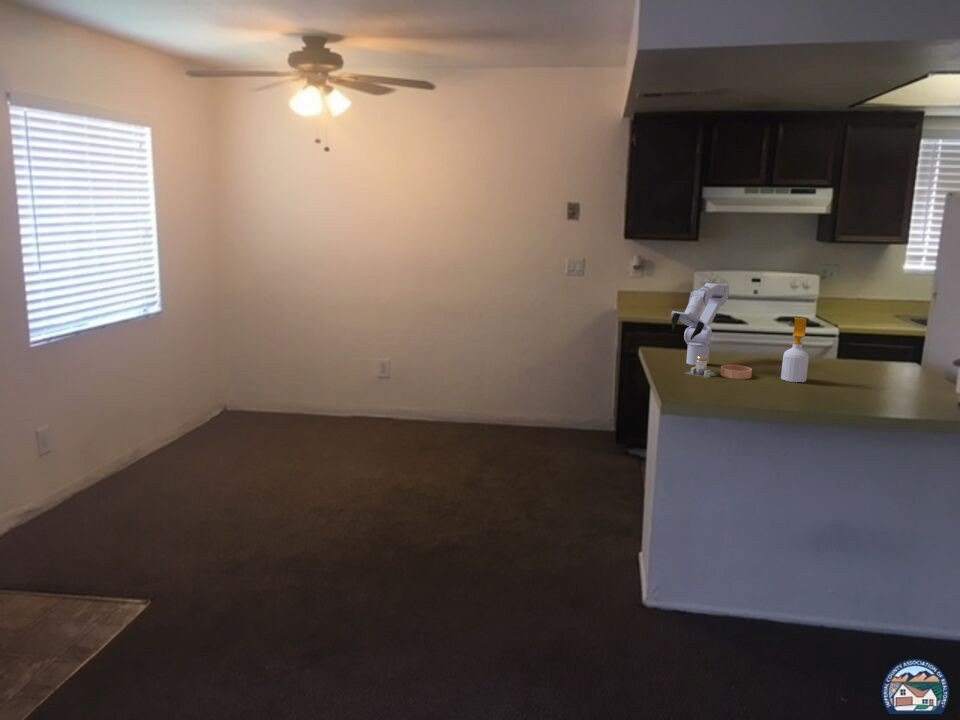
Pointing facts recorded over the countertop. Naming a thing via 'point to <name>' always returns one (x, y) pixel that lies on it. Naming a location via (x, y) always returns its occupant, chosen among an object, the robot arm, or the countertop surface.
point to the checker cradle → (706, 374)
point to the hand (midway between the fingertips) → (682, 334)
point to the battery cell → (700, 364)
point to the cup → (736, 371)
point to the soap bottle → (796, 356)
